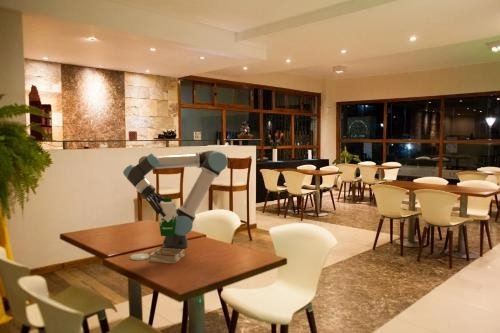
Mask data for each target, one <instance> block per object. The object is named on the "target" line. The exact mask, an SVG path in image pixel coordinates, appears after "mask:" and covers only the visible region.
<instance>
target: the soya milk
mask: <svg viewBox="0 0 500 333" xmlns="http://www.w3.org/2000/svg"><path fill="white" fill-rule="evenodd" d="M163 198H164V201H161V202H160V204H159V205H160V207H161V208H162V211H163V210H164V211H165V212H166V213H167V214H168V215H169V216H170V217H171V220H170V221H169V222H167V221H166V220H165V219H164V218H163V217H162V216H161V214H160V213H159V214H158V215H159V218H158V219H159V231H160V232H159V233H160V236H161V237H165V236H174V233H175V227H176V209H177V206H176V201H175V200H172V197H171V196H167V197H163Z"/></svg>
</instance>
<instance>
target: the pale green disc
mask: <svg viewBox="0 0 500 333" xmlns="http://www.w3.org/2000/svg"><path fill="white" fill-rule="evenodd" d="M149 255H150V254H149V253H134V254H132V255H130V256H129V259H130V261H131V260H132V261H136V262H137V261H138V262H139V261H146V260H149Z"/></svg>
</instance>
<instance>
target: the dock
mask: <svg viewBox="0 0 500 333" xmlns="http://www.w3.org/2000/svg"><path fill="white" fill-rule="evenodd" d="M185 252H186V251H185V249H184V248H181V249H170V248H164V247H159V248H158V249H156V250H155V251H152V252H151V253H150V254H149V259H148V261H149V262H150V263H151V262H152V263H153V262H154V263H164V264H176V263H178V262H179V261H180V260H182V258H183V257H185Z"/></svg>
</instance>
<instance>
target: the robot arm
mask: <svg viewBox="0 0 500 333" xmlns="http://www.w3.org/2000/svg"><path fill="white" fill-rule="evenodd" d="M228 162H229V161H228V158H227V155H226V154H225V153H224V152H222V151H220V150H208V151H207V150H206V151H200V152H199V151H198V152H195V153H193V154H172V155H155V154H154V153H149V154H148V155H144V156H142V157H140V158H139V159H138V163H137V164H136V165H134V164H129V165H128V166H126V167H125V168H124V169H123V171H122V174H123V176H124V177H125V178H126V179H127V180H128V181H129V183H131V185H132V186H133V187H134V188H135V189H136V191H138V192H139V193H140V195H142V197H143V198H145V200H146V202H148V204H149V205H150V207H151V208H152V210H154V212H155V214H157V215H159V213H160V214H161V216H162V217H163V218H164V219H165V220H166V221H167V222H169V221H170V220H171V217H170V216H169V215H168V214H167V213H166V212H165V211H164V210H163V211H162V208H161V207H160V202H161V201H164V198H165V197H163V195H161V194H160V193H156V188H155V187H154V186H153V185H152V184H151V182H150V181H149V180H148V179H147V178H146V177H145V176H147V175H148V174H149V173H150V172H151V171H153V170H156V169H173V168H175V169H176V168H191V167H193V168H194V167H196V168H197V169H201V171H200V173H199V175H198V177H197V178H196V181H195V182H194V184H193V186H192V188H191V190H190V191H189V193H188V195H187V197H186V199H185V200H184V202H183V204H182V205H181V206H180V207H177V208H176V227H175V233H174V236H164V238H163V242H162V248H170V249H184V248H187V247H188V246H189V241H188V238H187V235H188V234H189V233H190V232H192V229H193V226H194V225H193V223H194V222H195V219H196V212H197V210H198V208H199V207H200V205H201V203H202V202H203V199H204V197H205V195H206V194H207V192H208V190H209V189H210V187H211V185H212V183H213V182H214V180H215V179H216V178H219V176H220V174H221V172H222V171H224V170H225V169H226V167H227V166H228Z"/></svg>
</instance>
